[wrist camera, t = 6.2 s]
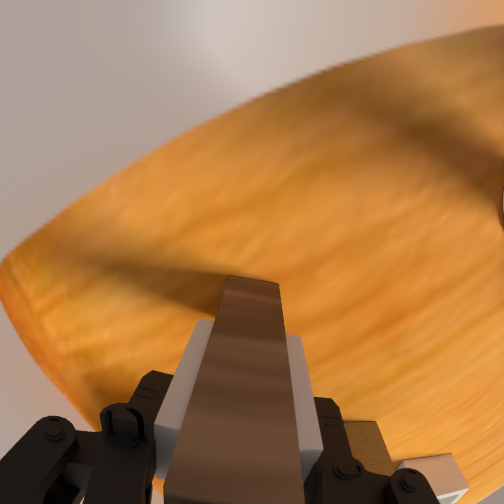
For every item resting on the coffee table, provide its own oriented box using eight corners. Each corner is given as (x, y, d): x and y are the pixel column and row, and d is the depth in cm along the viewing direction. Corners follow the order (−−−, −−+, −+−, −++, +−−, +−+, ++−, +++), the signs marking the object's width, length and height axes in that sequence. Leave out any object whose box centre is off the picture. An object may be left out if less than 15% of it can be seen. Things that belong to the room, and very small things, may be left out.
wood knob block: (229, 275, 19) (147, 541, 4) (278, 283, 19) (310, 560, 4) (222, 319, 20) (155, 574, 4) (269, 327, 20) (274, 588, 4)
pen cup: (403, 459, 23) (419, 500, 18) (451, 453, 23) (469, 487, 18) (376, 494, 25) (386, 531, 19) (422, 488, 25) (436, 520, 19)
